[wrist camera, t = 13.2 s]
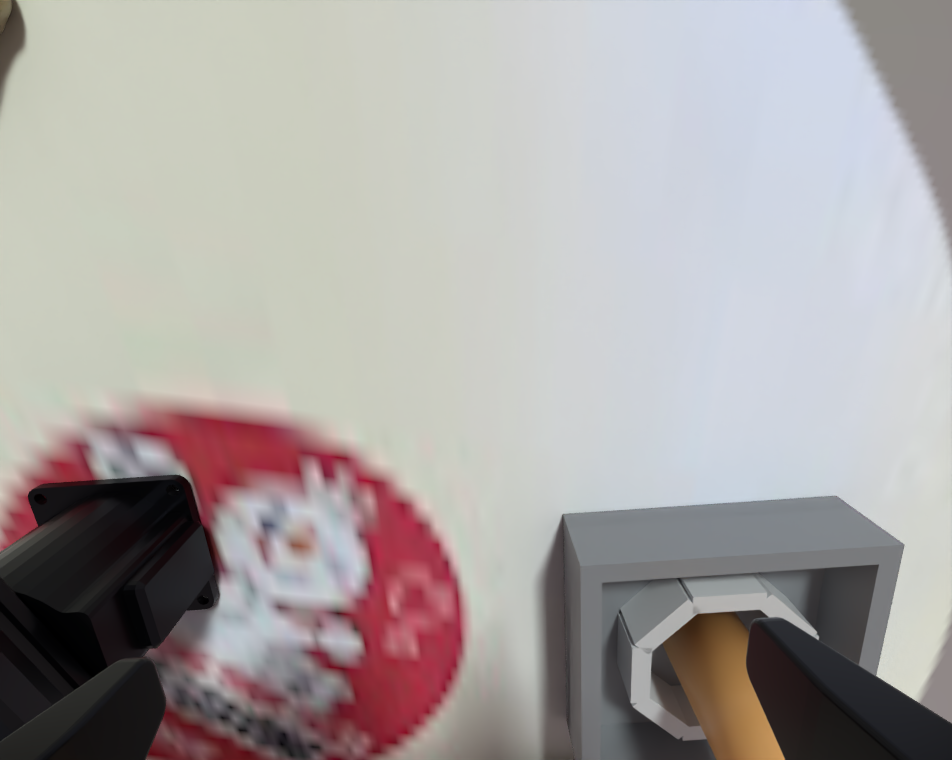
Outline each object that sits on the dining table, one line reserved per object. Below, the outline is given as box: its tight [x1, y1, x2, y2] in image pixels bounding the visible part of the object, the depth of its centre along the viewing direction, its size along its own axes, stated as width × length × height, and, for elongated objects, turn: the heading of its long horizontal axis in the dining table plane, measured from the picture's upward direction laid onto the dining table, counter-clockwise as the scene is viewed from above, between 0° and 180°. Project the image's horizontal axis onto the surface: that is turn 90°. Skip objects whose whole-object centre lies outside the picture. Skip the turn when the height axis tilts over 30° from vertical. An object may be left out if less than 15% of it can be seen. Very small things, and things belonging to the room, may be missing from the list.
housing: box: [563, 496, 904, 760], centre depth 22 cm, size 12×12×4 cm
